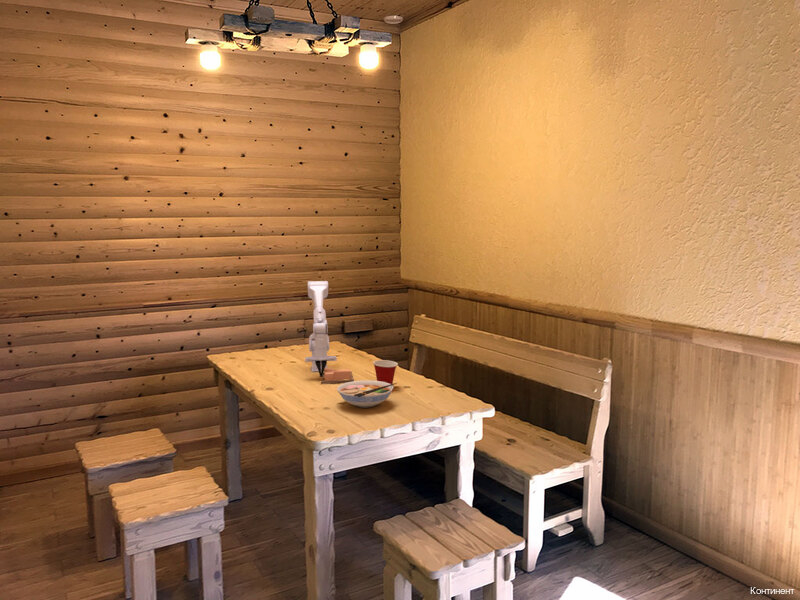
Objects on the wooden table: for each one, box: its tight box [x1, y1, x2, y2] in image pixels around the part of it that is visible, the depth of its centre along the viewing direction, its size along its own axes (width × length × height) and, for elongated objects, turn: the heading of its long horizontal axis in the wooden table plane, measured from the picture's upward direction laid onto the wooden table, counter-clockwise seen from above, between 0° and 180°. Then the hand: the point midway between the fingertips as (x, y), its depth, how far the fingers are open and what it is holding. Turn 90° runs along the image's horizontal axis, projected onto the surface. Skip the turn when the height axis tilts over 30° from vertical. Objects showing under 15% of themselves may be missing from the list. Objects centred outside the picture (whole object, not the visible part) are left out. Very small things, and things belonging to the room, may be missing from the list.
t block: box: [323, 367, 352, 381], centre depth 306 cm, size 12×12×4 cm
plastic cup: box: [372, 359, 399, 385], centre depth 288 cm, size 11×11×12 cm
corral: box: [320, 371, 355, 385], centre depth 307 cm, size 17×15×1 cm
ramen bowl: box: [336, 379, 398, 409], centre depth 264 cm, size 25×23×8 cm
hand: (321, 376), depth 305 cm, fingers closed
